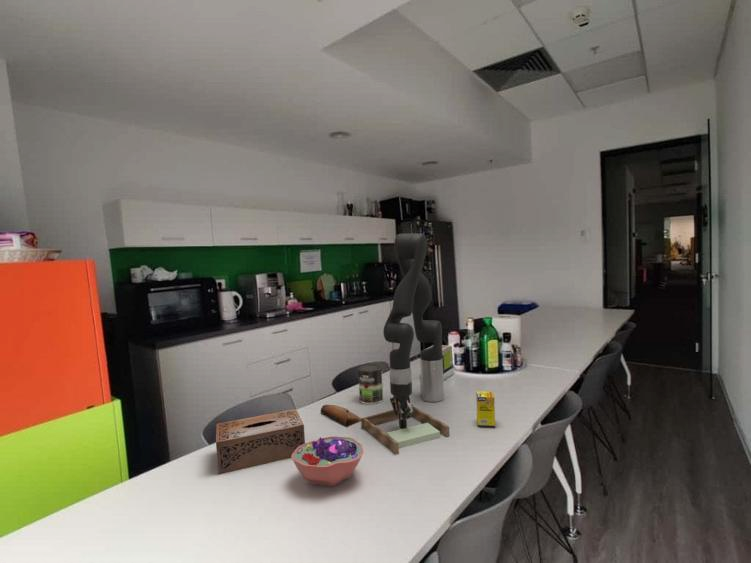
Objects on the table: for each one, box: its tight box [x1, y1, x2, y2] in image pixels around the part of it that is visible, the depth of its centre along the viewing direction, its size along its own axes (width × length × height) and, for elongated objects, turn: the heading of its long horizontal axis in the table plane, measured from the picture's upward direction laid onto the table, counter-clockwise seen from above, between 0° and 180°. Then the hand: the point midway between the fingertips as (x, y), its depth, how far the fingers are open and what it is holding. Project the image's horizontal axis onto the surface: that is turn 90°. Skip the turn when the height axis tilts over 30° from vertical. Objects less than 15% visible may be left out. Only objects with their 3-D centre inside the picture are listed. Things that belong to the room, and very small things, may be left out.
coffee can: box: [357, 364, 384, 405], centre depth 169 cm, size 10×10×14 cm
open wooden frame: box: [360, 404, 450, 455], centre depth 138 cm, size 23×22×4 cm
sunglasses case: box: [320, 404, 362, 427], centre depth 153 cm, size 18×7×7 cm, turn 40°
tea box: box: [426, 344, 454, 382], centre depth 195 cm, size 15×10×15 cm
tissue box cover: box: [215, 408, 306, 475], centre depth 127 cm, size 26×14×10 cm, turn 111°
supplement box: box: [475, 390, 496, 429], centre depth 140 cm, size 6×6×11 cm
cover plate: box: [385, 423, 441, 449], centre depth 133 cm, size 8×16×2 cm, turn 113°
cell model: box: [291, 436, 365, 487], centre depth 111 cm, size 17×20×11 cm
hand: (403, 428), depth 138 cm, fingers closed
